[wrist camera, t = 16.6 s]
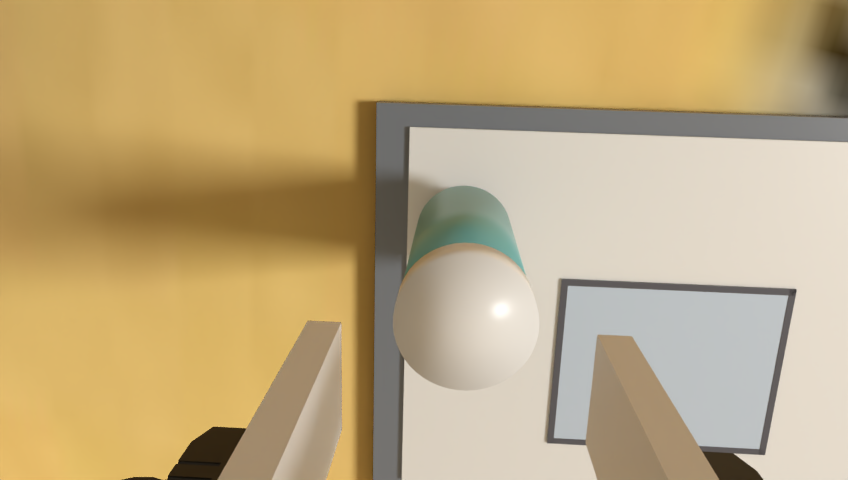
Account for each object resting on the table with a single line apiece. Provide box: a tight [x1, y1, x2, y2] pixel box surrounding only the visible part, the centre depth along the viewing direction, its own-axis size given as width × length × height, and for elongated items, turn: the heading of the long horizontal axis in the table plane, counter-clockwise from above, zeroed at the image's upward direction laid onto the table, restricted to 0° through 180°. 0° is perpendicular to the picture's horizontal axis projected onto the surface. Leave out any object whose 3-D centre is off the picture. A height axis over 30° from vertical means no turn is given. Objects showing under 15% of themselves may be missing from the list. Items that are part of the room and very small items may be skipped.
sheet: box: [373, 101, 848, 480], centre depth 32 cm, size 28×20×1 cm
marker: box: [393, 186, 539, 391], centre depth 24 cm, size 4×4×12 cm
